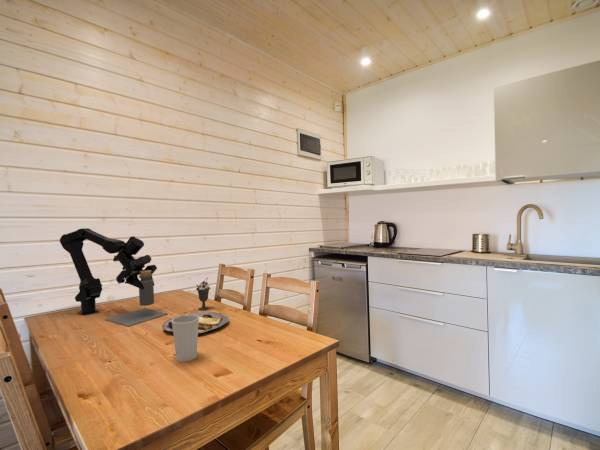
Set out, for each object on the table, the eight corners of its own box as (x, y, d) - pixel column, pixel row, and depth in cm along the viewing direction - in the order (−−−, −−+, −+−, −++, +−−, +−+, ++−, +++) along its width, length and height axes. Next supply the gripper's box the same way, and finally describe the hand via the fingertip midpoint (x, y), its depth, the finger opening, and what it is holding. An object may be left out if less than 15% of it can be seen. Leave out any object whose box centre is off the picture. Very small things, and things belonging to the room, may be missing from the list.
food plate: (149, 333, 115) (149, 324, 115) (187, 315, 137) (188, 307, 137) (207, 341, 108) (207, 331, 108) (237, 320, 130) (237, 312, 130)
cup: (183, 365, 89) (182, 324, 89) (167, 359, 93) (166, 320, 93) (205, 354, 96) (204, 317, 95) (188, 349, 100) (188, 313, 100)
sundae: (213, 307, 148) (213, 277, 148) (204, 311, 142) (203, 279, 142) (203, 306, 151) (202, 276, 150) (193, 310, 144) (192, 278, 144)
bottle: (153, 301, 140) (151, 269, 139) (155, 304, 135) (153, 271, 134) (139, 303, 137) (137, 270, 136) (140, 306, 132) (138, 272, 131)
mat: (105, 319, 132) (105, 318, 132) (144, 309, 147) (144, 308, 147) (128, 326, 123) (128, 325, 123) (167, 314, 138) (167, 313, 138)
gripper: (120, 251, 127) (142, 279, 125) (153, 247, 145) (173, 271, 142) (106, 269, 130) (127, 296, 127) (140, 263, 148) (159, 287, 145)
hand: (148, 287), depth 135 cm, fingers closed on bottle, 6 cm apart
